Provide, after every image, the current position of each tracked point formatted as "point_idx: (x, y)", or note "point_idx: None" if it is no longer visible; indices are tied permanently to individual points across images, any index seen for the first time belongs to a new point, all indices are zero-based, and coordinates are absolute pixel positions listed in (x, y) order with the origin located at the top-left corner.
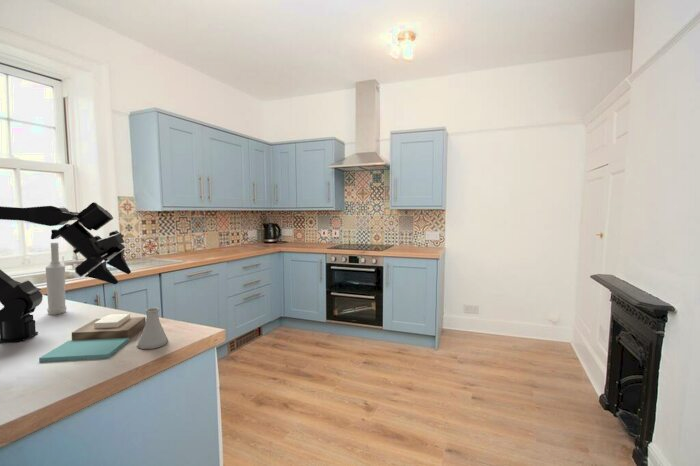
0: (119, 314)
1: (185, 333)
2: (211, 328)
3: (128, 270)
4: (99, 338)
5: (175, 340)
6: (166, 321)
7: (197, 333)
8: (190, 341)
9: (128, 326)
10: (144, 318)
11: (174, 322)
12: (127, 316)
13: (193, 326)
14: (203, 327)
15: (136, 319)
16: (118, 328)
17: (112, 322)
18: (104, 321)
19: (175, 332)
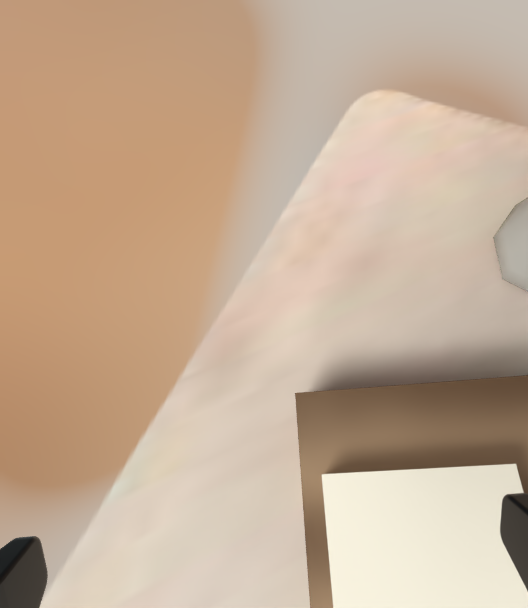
0: (337, 547)
1: (406, 187)
2: (343, 122)
3: (16, 575)
4: None
5: (493, 190)
6: (229, 333)
7: (404, 146)
8: (498, 137)
9: (482, 403)
10: (310, 393)
11: (250, 289)
12: (361, 472)
13: (315, 190)
14: (330, 151)
15: (345, 423)
16: (524, 446)
17: None
18: (513, 571)
19: (394, 228)
